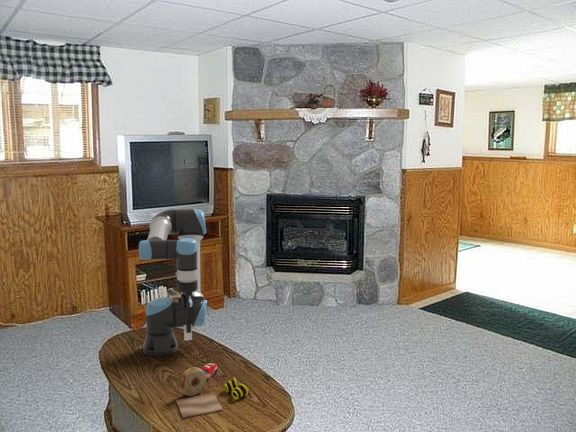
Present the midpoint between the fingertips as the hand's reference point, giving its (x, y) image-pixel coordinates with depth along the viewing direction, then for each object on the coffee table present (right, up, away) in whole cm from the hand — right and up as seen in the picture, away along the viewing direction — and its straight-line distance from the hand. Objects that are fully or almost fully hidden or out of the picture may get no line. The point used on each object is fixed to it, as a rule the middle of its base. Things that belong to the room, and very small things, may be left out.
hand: (188, 339), depth 188 cm
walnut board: (+6, -21, -12) cm, 25 cm away
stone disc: (+3, -20, -4) cm, 20 cm away
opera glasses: (+18, -20, -3) cm, 27 cm away
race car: (+5, -18, +10) cm, 21 cm away
